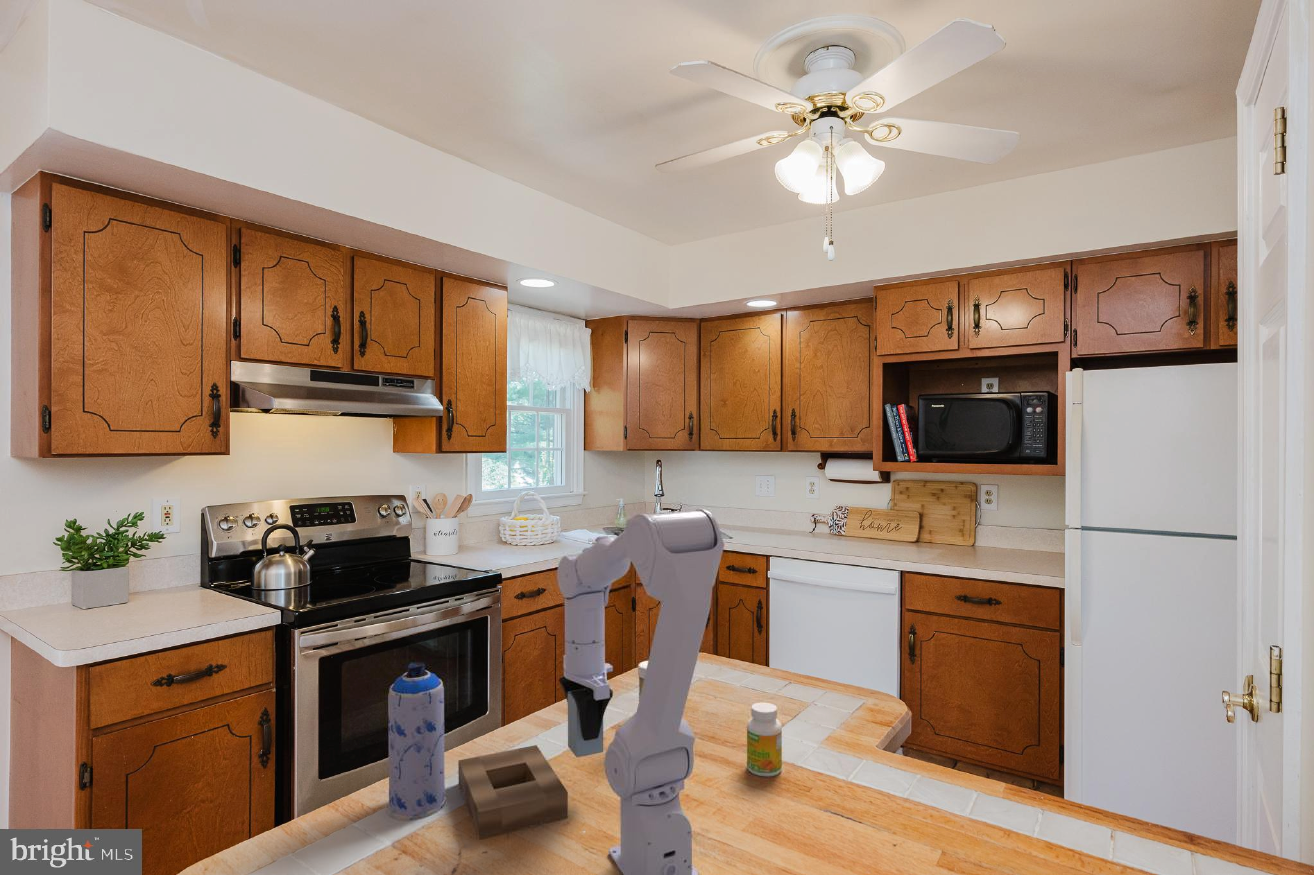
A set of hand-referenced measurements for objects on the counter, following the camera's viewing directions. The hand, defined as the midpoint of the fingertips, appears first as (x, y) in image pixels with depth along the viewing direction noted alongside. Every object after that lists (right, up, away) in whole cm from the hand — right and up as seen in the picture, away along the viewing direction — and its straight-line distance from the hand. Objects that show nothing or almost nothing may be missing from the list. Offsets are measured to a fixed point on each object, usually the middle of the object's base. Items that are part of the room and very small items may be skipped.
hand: (585, 732), depth 101 cm
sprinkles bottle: (+9, -9, +18) cm, 22 cm away
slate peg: (0, -2, 0) cm, 2 cm away
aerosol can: (-24, -10, -2) cm, 26 cm away
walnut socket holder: (-11, -10, -1) cm, 14 cm away
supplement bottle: (+27, -9, +8) cm, 30 cm away
